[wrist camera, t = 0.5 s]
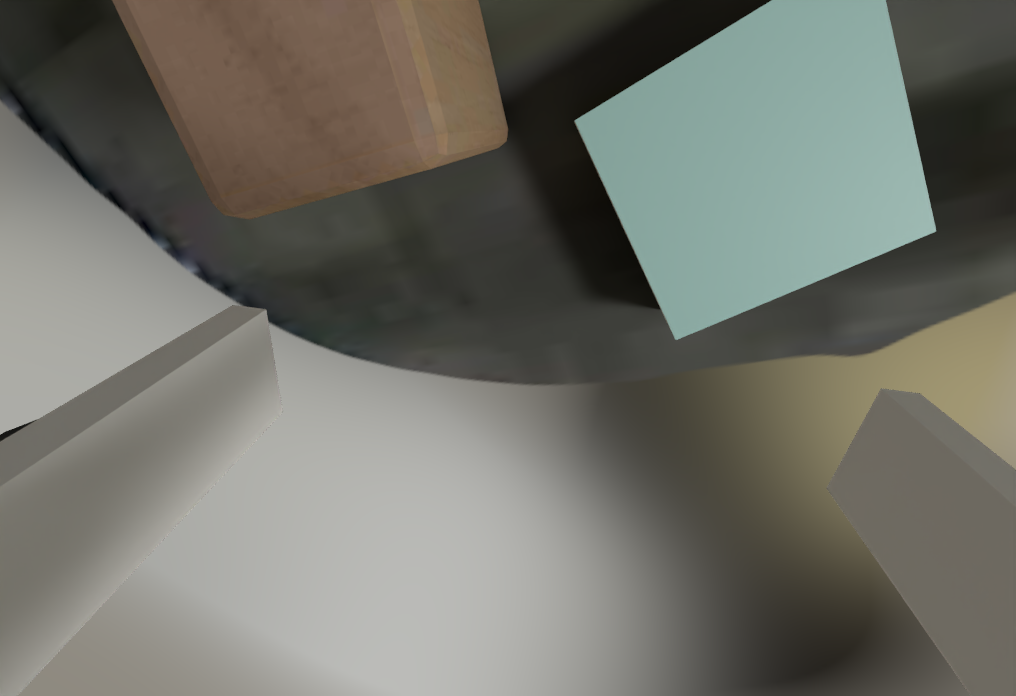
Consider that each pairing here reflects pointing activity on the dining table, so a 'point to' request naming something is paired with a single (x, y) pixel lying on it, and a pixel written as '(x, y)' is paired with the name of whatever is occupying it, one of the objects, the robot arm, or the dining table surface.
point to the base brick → (763, 159)
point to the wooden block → (317, 92)
